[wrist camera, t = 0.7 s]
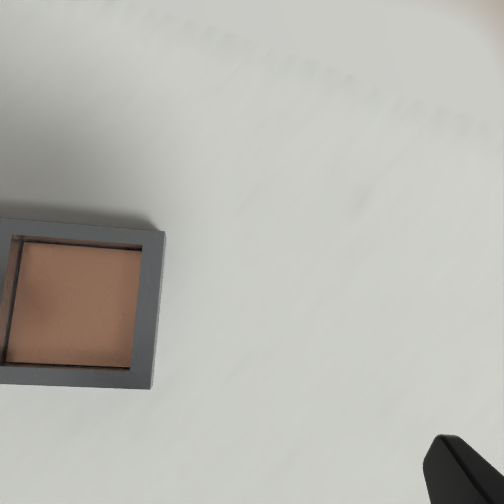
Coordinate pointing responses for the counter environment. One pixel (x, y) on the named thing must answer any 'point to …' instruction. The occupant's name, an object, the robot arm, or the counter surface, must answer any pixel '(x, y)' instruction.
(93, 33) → the counter surface
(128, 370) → the grey divided tray
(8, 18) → the counter surface
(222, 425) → the counter surface
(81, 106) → the counter surface
